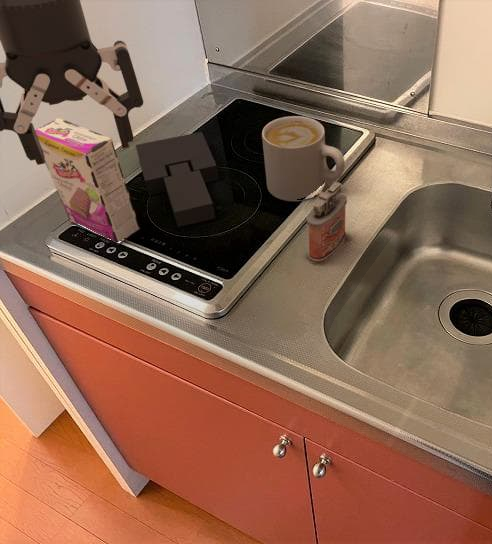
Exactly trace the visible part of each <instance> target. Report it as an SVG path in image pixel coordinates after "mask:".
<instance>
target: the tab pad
mask: <svg viewBox="0 0 492 544" xmlns="http://www.w3.org/2000/svg"><path fill="white" fill-rule="evenodd" d="M169 169H170V173H171V176H169V177H165V178H164V182H165V185H166V189H167V192H166V193H167V196H168V199H169V203H170V206H171V209H172V213H173V216H174V219H175V222H176V226H177V228H181V227H185V226H190V225H194V224H198V223H202V222H207V221H210V220H214V219H216V214H215V207H214V203H213V201H212V198H211V195H210V192H209V190H208V188H207V185H206V183H204V180H203V178H202V175H201V173H200V170H197V171H193V172H191V170H190V167H189V165H188V162H186V163H181V164H176V165H171V166H169Z"/></svg>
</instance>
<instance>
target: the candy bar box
mask: <svg viewBox="0 0 492 544" xmlns="http://www.w3.org/2000/svg"><path fill="white" fill-rule="evenodd" d="M35 132H36V134H37V137H38V139H39V142H40V145H41V147H42V150H43V153H44V157H45V166H46V168H47V170H48V174H49V175H50V177H51V180H52V182H53V184H54V187H55V189H56V191H57V193H58V196H59V199H60V201H61V204H62V206H63V208H64V210H65V213H66V216H67V218H68V220H69V221H70V220H71V221H74V222H76V223H78V224H81V225H83V226H85V227H86V228H88V229H90V230H92V231H94V232H96V233H98V234H100V235H102V236H104V237H106V238H109V239H111V240H112V241H115V242H119V241H120V240H122V239H124V238H126V239H124V240H123V241H121V242H120V243H119V244H116V243H114V242H112V241H110V240H108V239H106V238H104V240H105V239H106V240H107V241H109V242H111V243H113V244H115V245H118V246H119V245H120V244H122V243H123V242H126V240H127V239H128V238H130V237H131V236H133V235H134V234H135V233H136V232H138V231H139V230H140V228H141V227H140V224H139V222H138V221H139V220H138V218H137V215H136V212H135V209H134V205H133V202H132V199H131V197H130V193H129V192H130V191H129V190H128V187H127V183H126V181H125V177H124V174H123V171H122V167H121V164H120V161H119V157H118V155H117V152H116V149H115V145H114V142H113V139H112V137H109V136H106V135H104V134H101V133H99V132H96V131H93V130H90V129H88V128H86V127H83V126H80V125H79V124H76V123H73V122H70V121H68V120H66V119H63V118H60V117H57V118H55V119H54V120H52V121H50V122H48V123H46V124H44V125H43V126H40V127H38V128H35ZM70 223H71V224H73V223H72V222H70ZM83 229H84V230H87V229H85V228H83ZM87 231H88V230H87ZM91 233H92V234H94V233H93V232H91Z"/></svg>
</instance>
